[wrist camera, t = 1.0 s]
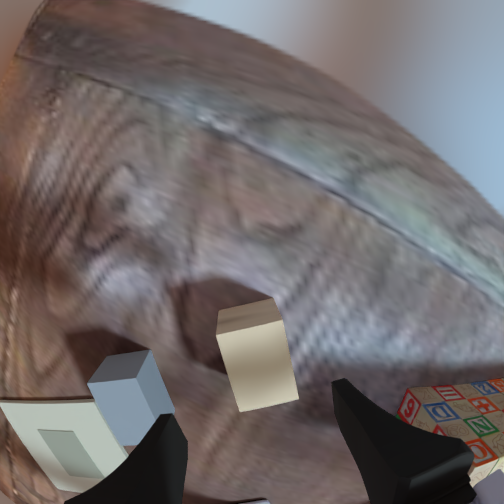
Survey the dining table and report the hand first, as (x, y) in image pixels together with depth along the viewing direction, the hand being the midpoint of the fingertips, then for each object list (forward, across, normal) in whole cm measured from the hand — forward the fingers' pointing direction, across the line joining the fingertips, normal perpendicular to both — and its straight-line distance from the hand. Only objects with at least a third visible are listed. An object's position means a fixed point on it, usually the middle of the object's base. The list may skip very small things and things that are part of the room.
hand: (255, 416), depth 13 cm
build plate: (+9, +22, +12) cm, 26 cm away
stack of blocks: (+10, -21, +18) cm, 30 cm away
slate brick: (+10, +10, +4) cm, 15 cm away
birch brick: (+10, 0, +2) cm, 11 cm away
